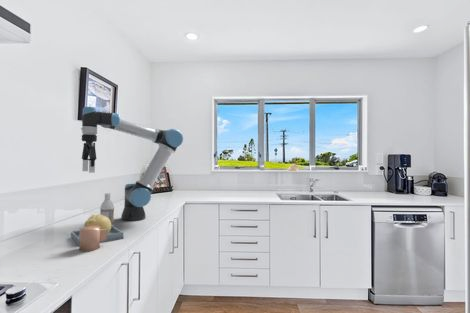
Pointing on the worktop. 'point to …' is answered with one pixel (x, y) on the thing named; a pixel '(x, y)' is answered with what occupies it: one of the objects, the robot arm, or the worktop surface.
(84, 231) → the peach tabbed round part
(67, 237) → the worktop surface
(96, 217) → the sculpture
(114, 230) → the tray
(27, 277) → the worktop surface
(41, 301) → the worktop surface
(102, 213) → the bath foam
